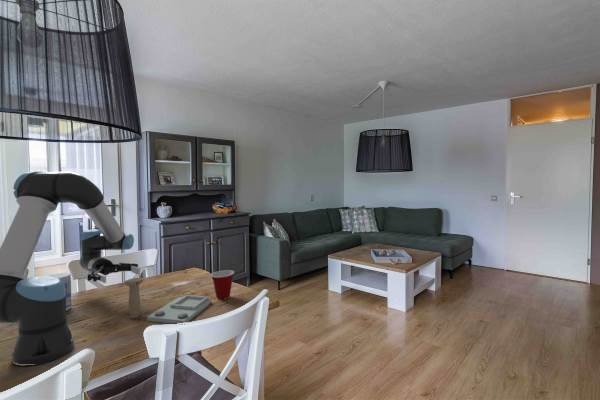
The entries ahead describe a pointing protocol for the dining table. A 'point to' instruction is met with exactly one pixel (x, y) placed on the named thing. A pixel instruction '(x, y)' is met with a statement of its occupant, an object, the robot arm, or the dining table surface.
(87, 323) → the dining table surface
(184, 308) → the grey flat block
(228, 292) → the plastic cup
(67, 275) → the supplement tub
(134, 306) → the handle
